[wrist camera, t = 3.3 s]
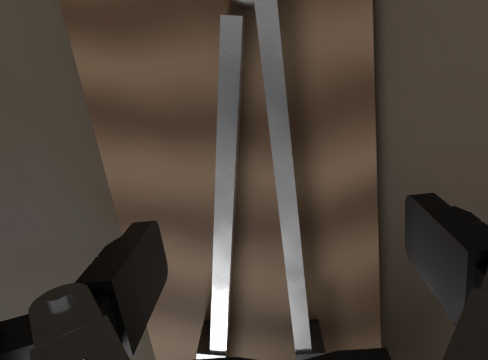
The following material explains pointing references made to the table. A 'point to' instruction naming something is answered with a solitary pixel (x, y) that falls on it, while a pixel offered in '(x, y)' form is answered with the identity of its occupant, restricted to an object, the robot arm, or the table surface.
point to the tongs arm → (225, 186)
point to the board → (240, 162)
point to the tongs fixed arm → (284, 175)
